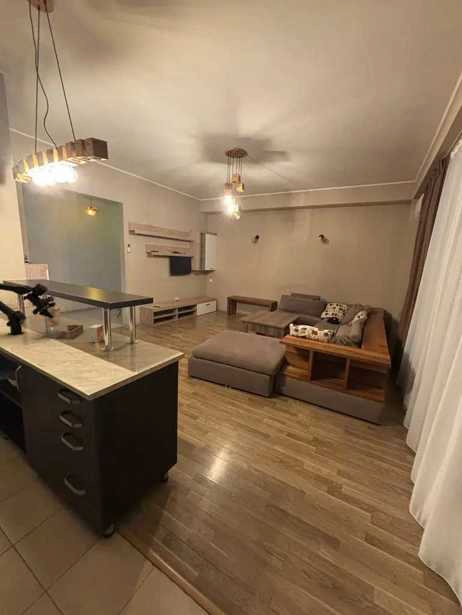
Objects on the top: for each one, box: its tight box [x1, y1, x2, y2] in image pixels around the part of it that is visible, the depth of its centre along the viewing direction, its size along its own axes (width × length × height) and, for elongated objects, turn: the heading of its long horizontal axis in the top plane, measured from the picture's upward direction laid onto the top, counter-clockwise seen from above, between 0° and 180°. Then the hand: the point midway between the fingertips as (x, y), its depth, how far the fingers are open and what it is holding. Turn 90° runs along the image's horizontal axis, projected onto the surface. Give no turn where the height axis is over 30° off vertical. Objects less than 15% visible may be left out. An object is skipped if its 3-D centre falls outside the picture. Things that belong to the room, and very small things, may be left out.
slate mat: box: [41, 330, 56, 338], centre depth 173 cm, size 11×12×1 cm
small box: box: [88, 324, 104, 344], centre depth 166 cm, size 8×6×10 cm
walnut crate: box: [55, 324, 84, 340], centre depth 174 cm, size 10×17×5 cm, turn 9°
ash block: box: [47, 306, 61, 328], centre depth 171 cm, size 5×5×13 cm
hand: (54, 316), depth 171 cm, fingers closed on ash block, 5 cm apart
